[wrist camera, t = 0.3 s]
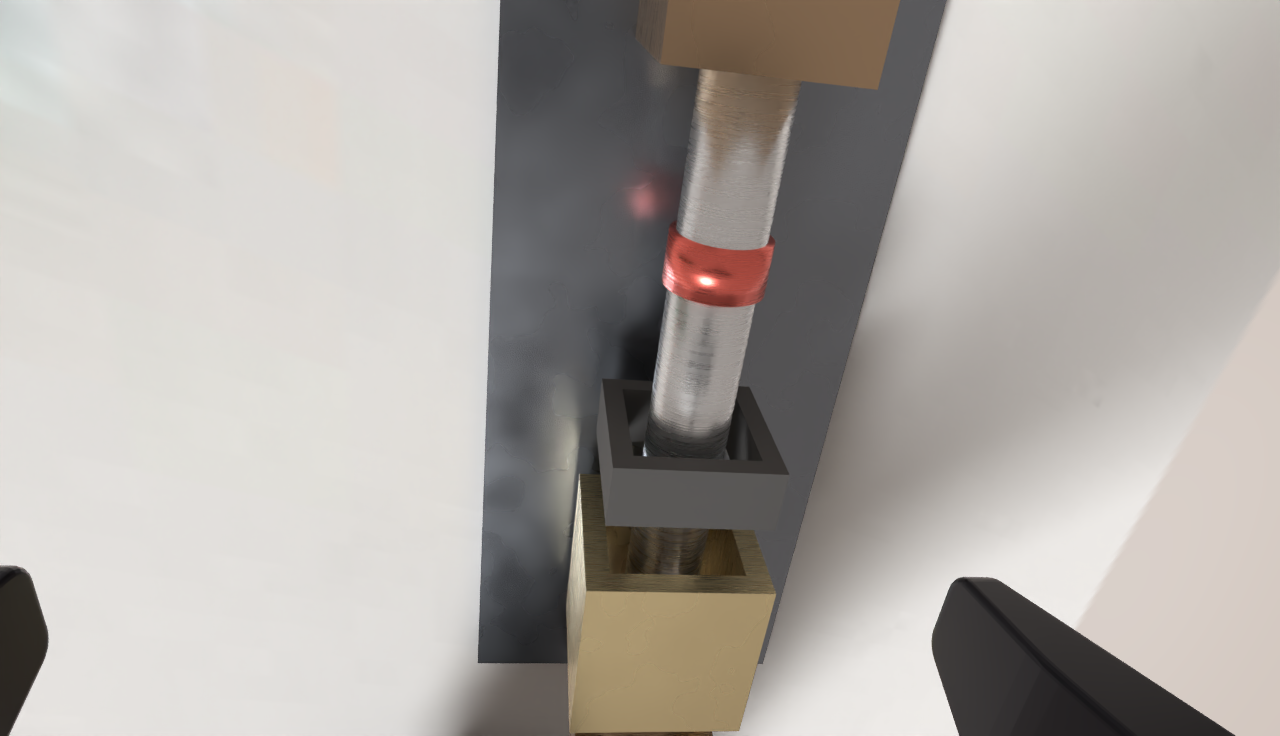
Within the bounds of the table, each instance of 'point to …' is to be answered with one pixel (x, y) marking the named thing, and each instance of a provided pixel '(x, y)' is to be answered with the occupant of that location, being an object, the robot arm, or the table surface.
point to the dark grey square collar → (687, 469)
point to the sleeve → (661, 630)
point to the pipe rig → (676, 257)
